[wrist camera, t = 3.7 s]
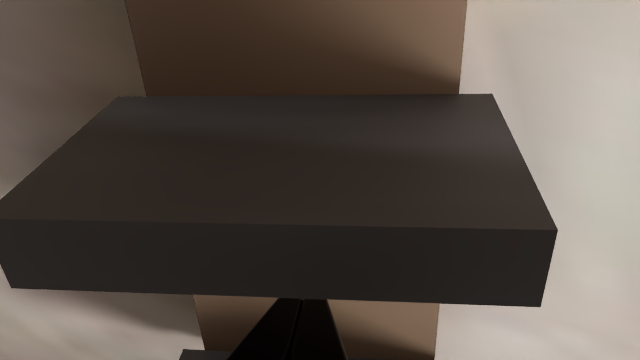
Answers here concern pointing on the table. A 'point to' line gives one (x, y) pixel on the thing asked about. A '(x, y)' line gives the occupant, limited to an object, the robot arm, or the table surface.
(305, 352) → the robot arm
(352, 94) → the wooden frame
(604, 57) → the table surface
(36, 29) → the table surface
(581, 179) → the table surface
